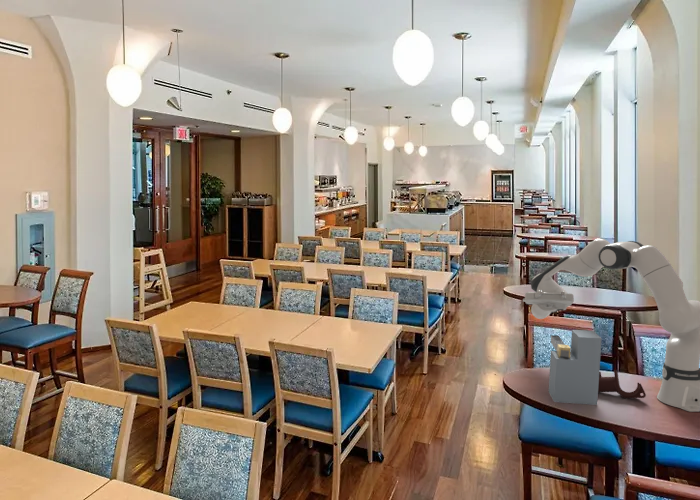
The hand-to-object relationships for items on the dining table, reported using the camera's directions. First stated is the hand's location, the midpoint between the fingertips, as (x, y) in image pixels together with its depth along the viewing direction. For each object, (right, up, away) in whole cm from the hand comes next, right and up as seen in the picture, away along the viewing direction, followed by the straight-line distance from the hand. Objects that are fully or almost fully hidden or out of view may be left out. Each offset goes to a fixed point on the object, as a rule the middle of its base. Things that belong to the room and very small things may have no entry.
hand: (552, 293), depth 221 cm
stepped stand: (-1, -39, -21) cm, 44 cm away
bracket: (+19, -39, -18) cm, 47 cm away
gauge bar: (-3, -21, -16) cm, 27 cm away
